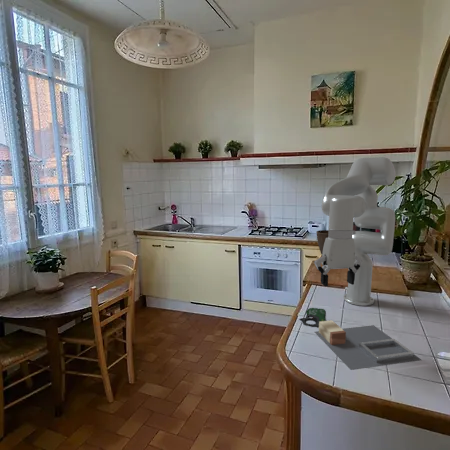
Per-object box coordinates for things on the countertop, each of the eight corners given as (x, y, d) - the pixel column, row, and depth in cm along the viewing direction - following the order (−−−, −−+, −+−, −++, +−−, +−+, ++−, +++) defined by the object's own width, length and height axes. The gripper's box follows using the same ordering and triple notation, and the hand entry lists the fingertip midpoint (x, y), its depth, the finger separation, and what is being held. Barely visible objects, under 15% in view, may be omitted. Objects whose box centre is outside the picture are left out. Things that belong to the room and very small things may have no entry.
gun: (301, 306, 136) (326, 308, 133) (301, 309, 136) (326, 312, 133) (298, 323, 121) (326, 326, 118) (298, 327, 121) (326, 330, 118)
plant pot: (312, 252, 232) (313, 230, 229) (332, 251, 233) (333, 229, 231) (320, 257, 217) (321, 234, 214) (341, 256, 218) (342, 233, 216)
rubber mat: (314, 332, 116) (314, 331, 116) (373, 326, 120) (373, 325, 120) (350, 371, 93) (350, 369, 93) (421, 361, 98) (422, 359, 98)
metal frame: (358, 347, 105) (358, 342, 105) (393, 342, 108) (393, 338, 107) (376, 362, 97) (376, 358, 96) (413, 357, 99) (414, 353, 99)
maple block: (318, 332, 115) (319, 321, 115) (331, 330, 116) (331, 320, 116) (331, 345, 107) (332, 333, 106) (345, 343, 108) (345, 332, 107)
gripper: (356, 231, 111) (353, 279, 114) (310, 233, 108) (308, 282, 110) (370, 235, 104) (367, 286, 106) (322, 237, 101) (319, 289, 103)
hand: (337, 284), depth 108 cm, fingers open, 9 cm apart
